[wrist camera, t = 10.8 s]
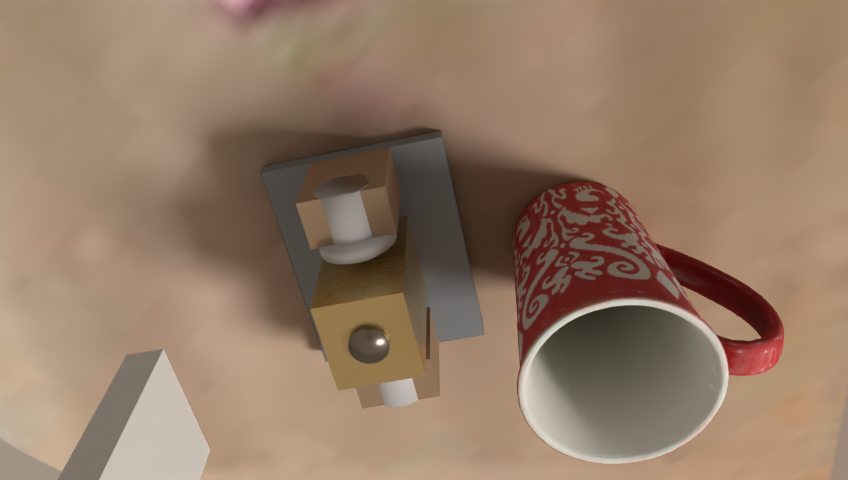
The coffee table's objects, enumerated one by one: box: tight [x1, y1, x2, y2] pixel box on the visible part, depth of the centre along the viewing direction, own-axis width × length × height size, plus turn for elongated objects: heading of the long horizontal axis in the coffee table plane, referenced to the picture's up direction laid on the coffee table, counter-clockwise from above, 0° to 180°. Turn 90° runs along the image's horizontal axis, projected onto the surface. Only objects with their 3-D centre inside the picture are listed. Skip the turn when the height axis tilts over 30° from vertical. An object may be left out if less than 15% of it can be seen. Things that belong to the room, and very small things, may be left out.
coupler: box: [310, 215, 427, 390], centre depth 41 cm, size 5×4×8 cm
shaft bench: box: [261, 131, 484, 408], centre depth 42 cm, size 13×10×7 cm
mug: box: [513, 181, 784, 464], centre depth 39 cm, size 13×9×14 cm
